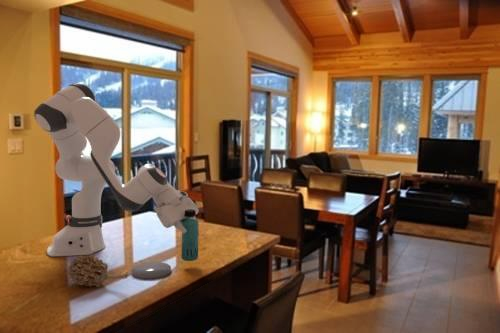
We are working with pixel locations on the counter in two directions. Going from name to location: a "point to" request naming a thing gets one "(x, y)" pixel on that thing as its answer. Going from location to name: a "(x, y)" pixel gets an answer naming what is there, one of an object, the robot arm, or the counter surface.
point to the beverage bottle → (190, 237)
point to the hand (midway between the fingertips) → (191, 229)
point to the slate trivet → (151, 270)
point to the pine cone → (90, 271)
